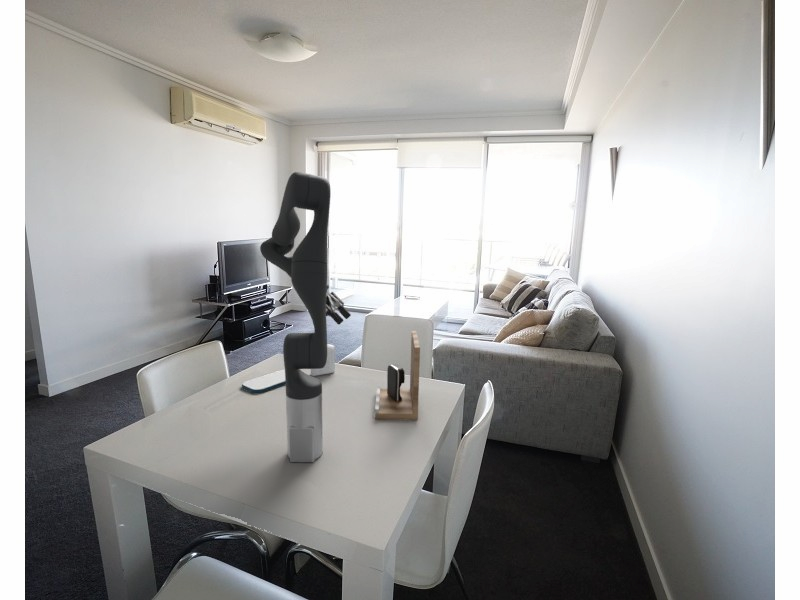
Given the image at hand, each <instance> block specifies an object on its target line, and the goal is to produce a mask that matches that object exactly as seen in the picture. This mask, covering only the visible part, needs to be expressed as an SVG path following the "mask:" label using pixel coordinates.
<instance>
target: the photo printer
mask: <svg viewBox="0 0 800 600" xmlns="http://www.w3.org/2000/svg"><path fill="white" fill-rule="evenodd" d="M335 361H336V350H335V345H333V344H330V343H327V361H326V365H325V366H324V367H323V368H321V369H310V376H313V377H317V376H321V375H322V376H323V375H328V374H333V373H335V370H336V365H335V363H336V362H335Z"/></svg>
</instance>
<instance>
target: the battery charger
mask: <svg viewBox="0 0 800 600" xmlns="http://www.w3.org/2000/svg"><path fill="white" fill-rule="evenodd" d="M386 375H387V376H386V378H387V379H386V381H387V382H386V383H387V384H386V389H387V394H388V395H389V396H390V397H391V398H392V399H393V400H395V401H399V400H402V397H401V396H400V389H401V386H402V384H405V382H406V381H405V380H406V378H405V370H404V368H402V367H401V365H398V364H389V365H388V366H387V373H386Z"/></svg>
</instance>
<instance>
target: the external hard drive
mask: <svg viewBox="0 0 800 600" xmlns="http://www.w3.org/2000/svg"><path fill="white" fill-rule="evenodd" d="M284 386H286V383H285V368H283V369H280V370H276V371H273V372H270V373H267V374H264V375H261V376H257V377H254V378H251V379H248V380H245V381H243V382H242V384H241V388H242V389H243V390H244V389H245V390H244V391H246V390H247V392H248V393H250V394H253V395H254V394H256V395H257V394H263V393H267V392H269V391H270V392H271V391H272V390H275V389H278V388H280V387H284Z"/></svg>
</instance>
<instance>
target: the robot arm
mask: <svg viewBox="0 0 800 600" xmlns="http://www.w3.org/2000/svg"><path fill="white" fill-rule="evenodd" d="M284 189H285V190H284V192H283V197H282V200H281V205H280V211H279V214H278V217H277V220H276V222H275V225H274V226H273V229H272V232H271V237H270V238H268V239H266V240H264V241H263V242H262V243H260V246H259V248H260V249H259V250H260V253H261V255H262V257H263V258H264V259H265V260H266V261H267V262H269V263H270V264H272V265H274V266H276V267H277V268H279V269H281V270H282V271H283V272H285V273H286V274H287V275H288V276H289V277H290V278H291V284H292V287H293V289H294V290H295V292H296V294H297V295H298V297H299V299H300V300H301V302H302V303H303V304H304V307H305V308H306V310H307V312H308V314H309V316H310V319H311V320H312V324H313V327H314V328H313V330H314V331H313V332H289V333H287V334H286V335H285V337H284V340H283V346H282V349H283V350H282V353H283V362H284V363H283V365H284V369H285V383H286V385H285V404H286V405H285V407H286V409H285V410H286V411H285V412H286V413H285V414H286V439H287V440H286V442H287V444H286V445H287V446H286V447H287V457H288V458H289V462H290V463H314V462H315V460H317V459H318V458H320V457H321V456H322V454H323V452H324V451H323V450H324V449H323V447H324V446H323V438H324V437H323V384H322V381H321V380H320V379H319V378H317V377H316V376H312V375H311V374H310V375H309V374H307V373H305V372H304V371H303V370H311V369H321V368H323V367H324V366H325V365H326V361H327V344H328V331H327V330H328V328H327V325H328V324H327V317H328V318H329V317H331V319H332V320H333V321H334V322H335V323H336V324H337V325H341V324H342V323H343V322H344V319H345V320H348V319H349V318H350V317H351V316H352V314H351V313H350V312H349V311H348V310H347V309H346V307H345V303H344V301H342V299H340V297H338V295H336V293H335V292H334V291H331V292H329V291H328V290H329V288H330V285H329V284H328V231H329V230H328V228H329V217H330V208H331V207H330V206H331V184H330V180H329V179H328V178H326V177H324V176H319V175H316V174H310V173H305V172H302V171H301V172H300V171H294V172H292V173H291V175H290V176H289V178H288V180H287V182H286V185H285V188H284ZM295 208H297V209H302V210H307V211H308V210H309V211H313V221H312V223H311V226H310V228H309V230H308V232H307V233H306V235H305V236H304V237H303V238H302V240H301V241H300V243H299V244H298V246H297V247H296V248H295V250H294V252H293V254H292V256H286V255H287V254H289V253H290V252H291V251H292V250H293V249H294V246H295V239H296V237H297V235H298V234H299V232H300V230H301V221H300V217H299V216H298V214H297V212H296V209H295ZM337 311H338V312H337ZM340 314H341V315H340Z"/></svg>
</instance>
